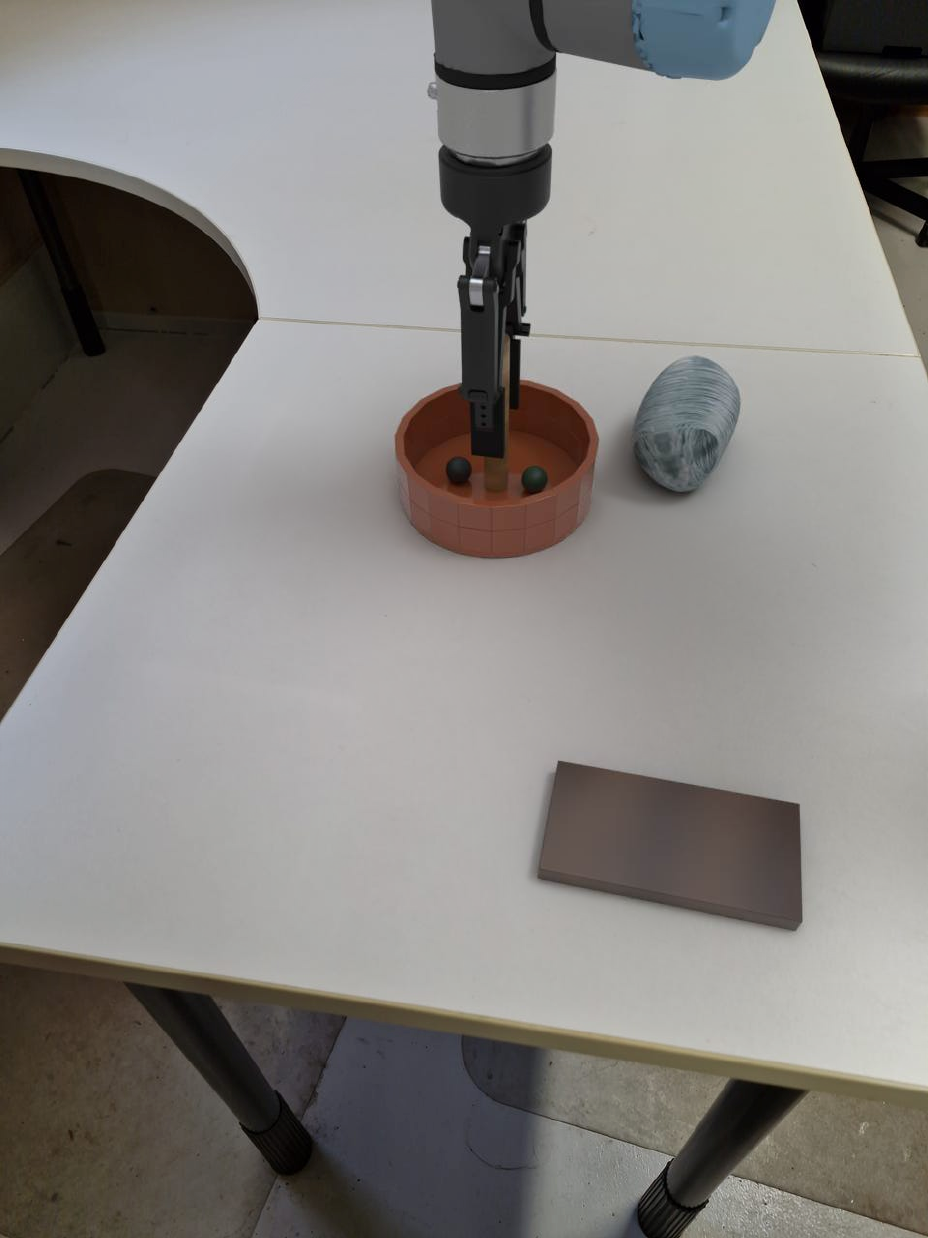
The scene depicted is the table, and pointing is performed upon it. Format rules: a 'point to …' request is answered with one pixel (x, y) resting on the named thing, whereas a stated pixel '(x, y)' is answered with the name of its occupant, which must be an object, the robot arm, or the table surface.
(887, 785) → the table surface
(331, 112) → the table surface
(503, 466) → the stick
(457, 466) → the bead
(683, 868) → the brown board
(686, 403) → the blue yarn skein
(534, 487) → the bead
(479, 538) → the bowl
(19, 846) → the table surface
